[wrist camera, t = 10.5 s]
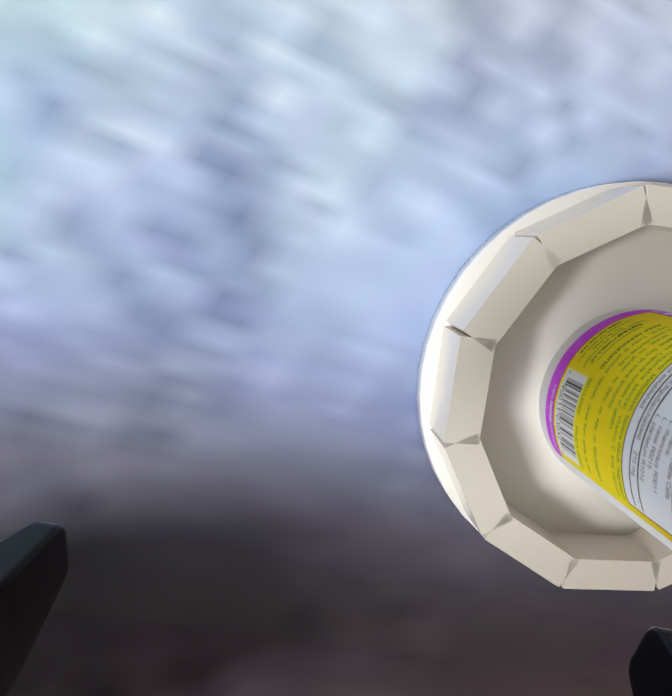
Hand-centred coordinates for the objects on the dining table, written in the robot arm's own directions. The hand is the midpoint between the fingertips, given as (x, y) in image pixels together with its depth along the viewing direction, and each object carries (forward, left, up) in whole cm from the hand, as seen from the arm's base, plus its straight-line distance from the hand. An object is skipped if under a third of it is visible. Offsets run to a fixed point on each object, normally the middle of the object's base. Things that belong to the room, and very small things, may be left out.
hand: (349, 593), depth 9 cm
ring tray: (+11, -5, -12) cm, 17 cm away
